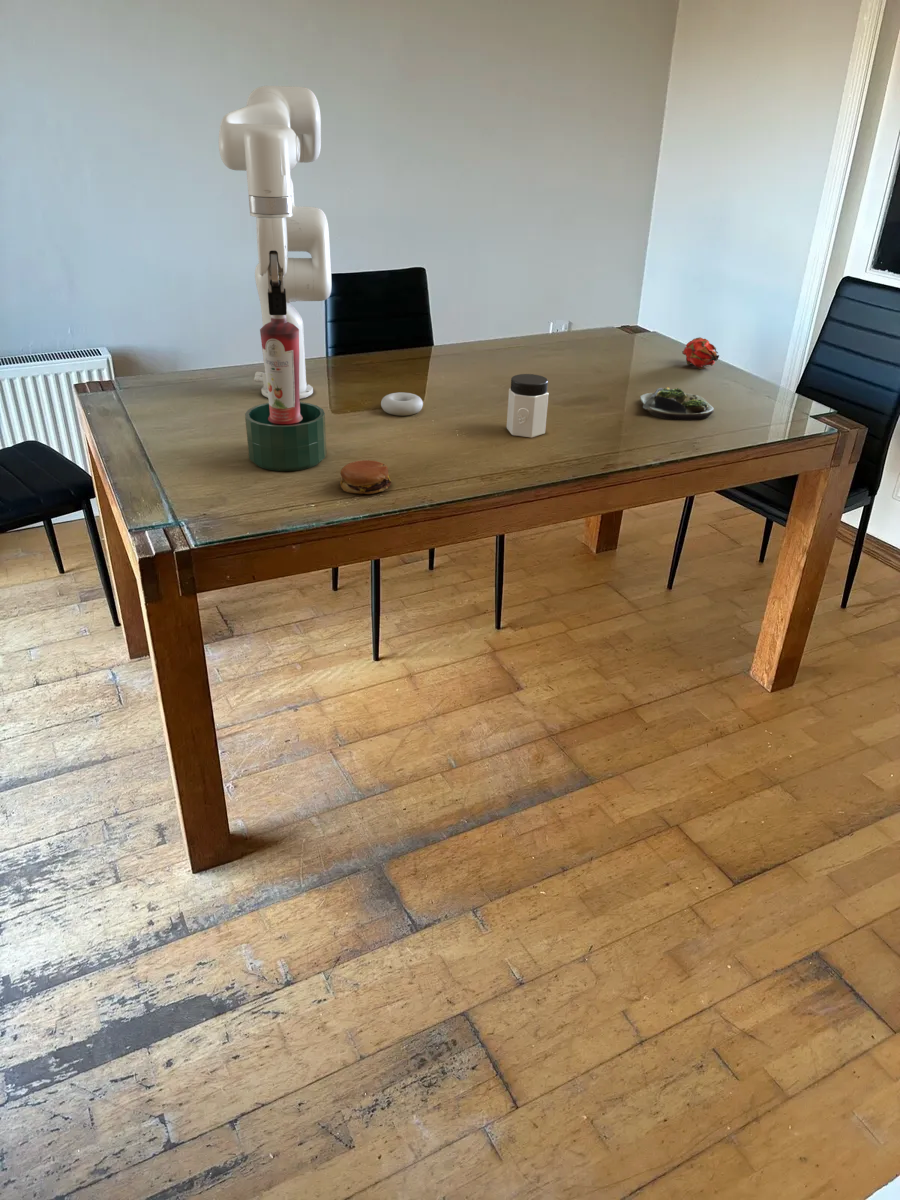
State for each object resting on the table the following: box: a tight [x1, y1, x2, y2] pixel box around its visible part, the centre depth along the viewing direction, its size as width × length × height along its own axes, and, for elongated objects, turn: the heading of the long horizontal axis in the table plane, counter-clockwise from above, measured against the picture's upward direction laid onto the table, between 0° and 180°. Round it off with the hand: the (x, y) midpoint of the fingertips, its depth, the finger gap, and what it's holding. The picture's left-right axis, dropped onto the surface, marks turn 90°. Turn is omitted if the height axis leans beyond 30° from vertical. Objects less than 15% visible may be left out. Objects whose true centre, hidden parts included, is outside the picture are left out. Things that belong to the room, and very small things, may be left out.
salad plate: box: [640, 386, 715, 421], centre depth 215 cm, size 19×18×5 cm
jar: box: [506, 373, 549, 439], centre depth 194 cm, size 9×8×12 cm
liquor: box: [259, 279, 303, 425], centre depth 169 cm, size 7×7×28 cm
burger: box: [339, 459, 392, 495], centre depth 166 cm, size 10×9×5 cm
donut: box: [380, 391, 424, 417], centre depth 207 cm, size 10×4×10 cm
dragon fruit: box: [681, 336, 720, 370], centre depth 248 cm, size 8×8×12 cm
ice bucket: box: [244, 401, 327, 472], centre depth 177 cm, size 16×16×10 cm
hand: (278, 311), depth 164 cm, fingers closed on liquor, 2 cm apart
